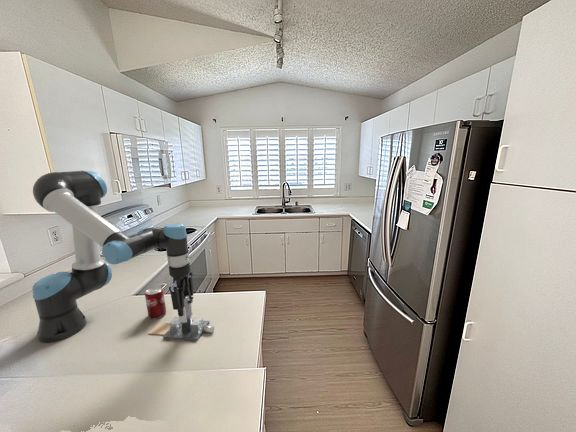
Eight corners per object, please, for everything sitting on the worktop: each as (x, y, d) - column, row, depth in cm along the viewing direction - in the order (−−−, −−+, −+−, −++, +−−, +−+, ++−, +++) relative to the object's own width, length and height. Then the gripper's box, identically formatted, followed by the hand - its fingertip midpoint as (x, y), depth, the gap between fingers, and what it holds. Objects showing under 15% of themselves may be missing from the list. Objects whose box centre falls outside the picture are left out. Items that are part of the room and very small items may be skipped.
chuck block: (163, 338, 98) (161, 328, 97) (178, 321, 109) (177, 311, 108) (207, 341, 96) (206, 331, 95) (218, 323, 107) (217, 313, 106)
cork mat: (148, 334, 101) (148, 333, 101) (159, 323, 108) (159, 322, 108) (165, 335, 100) (164, 334, 100) (174, 324, 107) (174, 323, 107)
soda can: (161, 308, 119) (158, 284, 116) (169, 313, 114) (166, 289, 112) (145, 315, 113) (141, 291, 111) (152, 321, 109) (148, 296, 106)
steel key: (177, 331, 101) (173, 299, 98) (182, 324, 105) (178, 294, 102) (192, 332, 100) (188, 300, 97) (197, 325, 104) (193, 294, 101)
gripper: (176, 273, 88) (184, 332, 93) (198, 255, 104) (204, 306, 109) (156, 273, 89) (165, 331, 94) (181, 255, 105) (187, 306, 110)
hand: (186, 318), depth 101 cm, fingers closed on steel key, 4 cm apart
